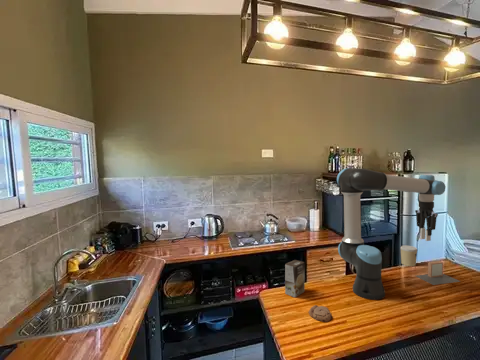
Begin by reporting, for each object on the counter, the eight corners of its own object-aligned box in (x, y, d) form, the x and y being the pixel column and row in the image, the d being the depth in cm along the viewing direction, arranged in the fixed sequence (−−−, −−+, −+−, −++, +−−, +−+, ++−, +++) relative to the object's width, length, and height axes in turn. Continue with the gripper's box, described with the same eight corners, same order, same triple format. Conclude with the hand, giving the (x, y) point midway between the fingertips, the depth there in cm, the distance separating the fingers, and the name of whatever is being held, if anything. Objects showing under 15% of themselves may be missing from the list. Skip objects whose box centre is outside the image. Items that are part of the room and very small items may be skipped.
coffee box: (295, 298, 136) (294, 267, 135) (284, 293, 140) (284, 263, 139) (305, 291, 142) (304, 262, 141) (294, 287, 147) (294, 259, 146)
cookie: (319, 325, 114) (319, 318, 113) (304, 312, 123) (304, 306, 123) (337, 319, 118) (337, 312, 117) (321, 307, 127) (321, 301, 127)
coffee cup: (419, 268, 168) (420, 250, 167) (403, 268, 170) (403, 249, 169) (413, 263, 177) (413, 245, 176) (397, 262, 179) (398, 245, 178)
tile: (431, 277, 153) (431, 263, 153) (427, 275, 155) (428, 262, 155) (442, 275, 155) (443, 262, 154) (439, 274, 157) (439, 261, 156)
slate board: (433, 287, 144) (433, 284, 144) (414, 277, 156) (414, 275, 156) (460, 283, 147) (460, 281, 147) (440, 274, 159) (440, 272, 159)
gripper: (444, 202, 152) (443, 243, 153) (420, 198, 167) (419, 235, 169) (433, 203, 150) (432, 244, 152) (409, 199, 166) (409, 236, 168)
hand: (425, 239), depth 160 cm, fingers open, 3 cm apart
